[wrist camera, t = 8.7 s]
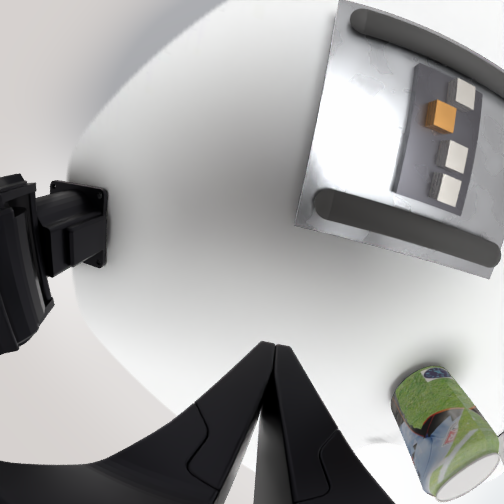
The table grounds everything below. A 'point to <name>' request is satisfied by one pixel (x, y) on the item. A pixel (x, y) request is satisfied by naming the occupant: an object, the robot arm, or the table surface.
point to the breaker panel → (406, 141)
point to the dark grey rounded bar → (428, 46)
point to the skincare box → (501, 446)
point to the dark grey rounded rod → (405, 226)
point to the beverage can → (444, 434)
